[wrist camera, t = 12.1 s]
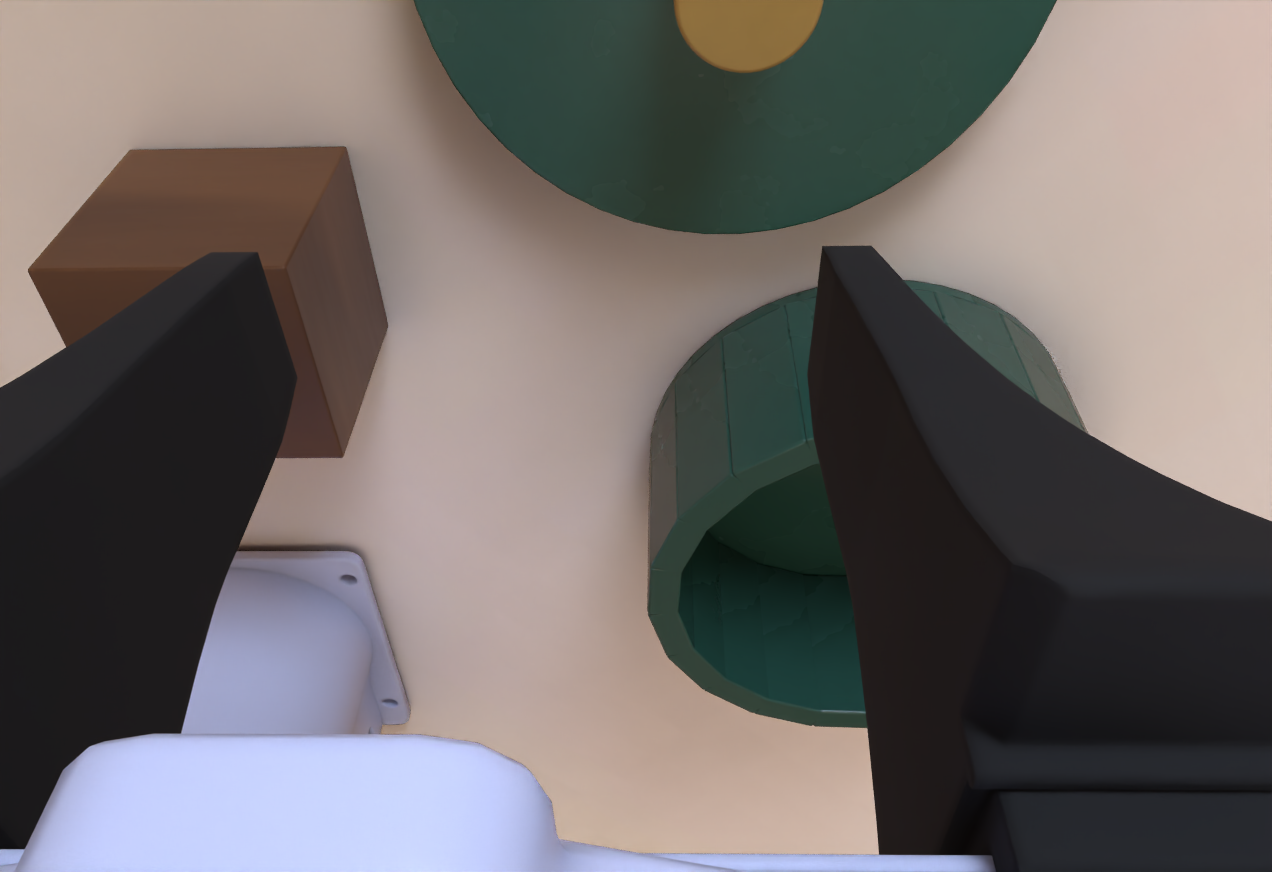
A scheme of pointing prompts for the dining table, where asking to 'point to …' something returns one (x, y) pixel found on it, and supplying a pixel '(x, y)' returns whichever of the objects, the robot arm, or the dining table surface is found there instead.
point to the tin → (777, 509)
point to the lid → (729, 96)
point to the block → (236, 222)
